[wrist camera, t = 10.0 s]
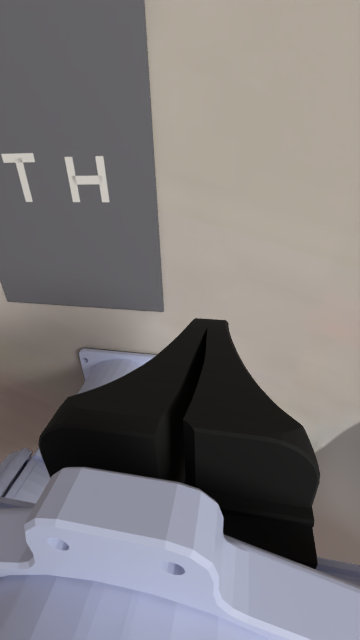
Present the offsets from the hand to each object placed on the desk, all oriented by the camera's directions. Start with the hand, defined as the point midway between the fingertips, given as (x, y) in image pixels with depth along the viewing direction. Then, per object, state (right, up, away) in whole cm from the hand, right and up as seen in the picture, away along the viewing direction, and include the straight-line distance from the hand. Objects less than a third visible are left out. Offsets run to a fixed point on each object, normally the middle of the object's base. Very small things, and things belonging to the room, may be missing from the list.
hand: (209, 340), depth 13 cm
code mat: (-9, +10, +7) cm, 15 cm away
